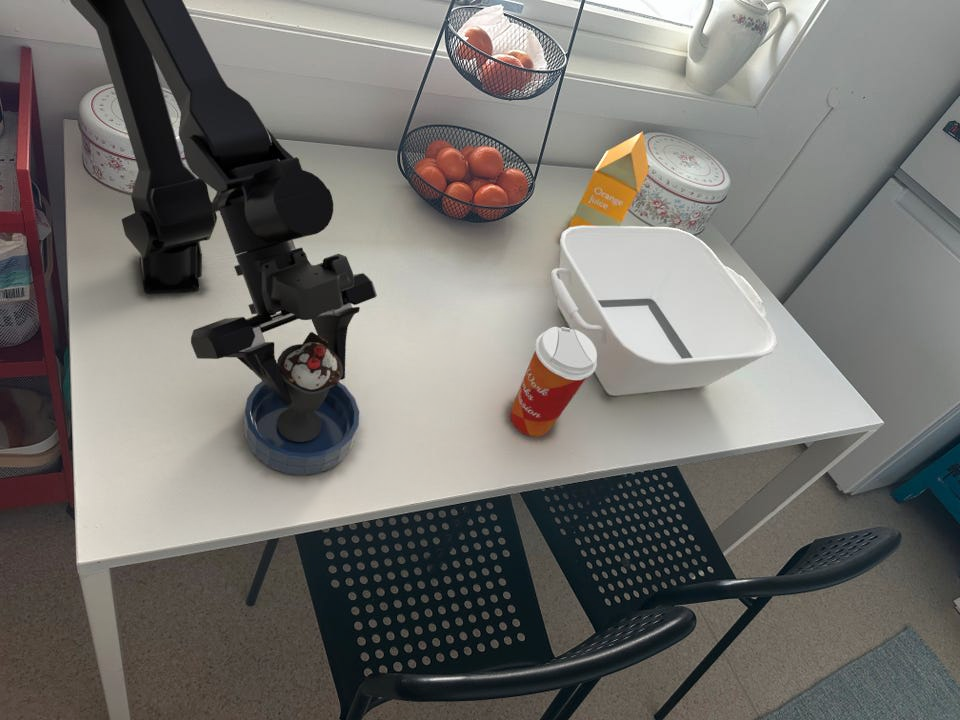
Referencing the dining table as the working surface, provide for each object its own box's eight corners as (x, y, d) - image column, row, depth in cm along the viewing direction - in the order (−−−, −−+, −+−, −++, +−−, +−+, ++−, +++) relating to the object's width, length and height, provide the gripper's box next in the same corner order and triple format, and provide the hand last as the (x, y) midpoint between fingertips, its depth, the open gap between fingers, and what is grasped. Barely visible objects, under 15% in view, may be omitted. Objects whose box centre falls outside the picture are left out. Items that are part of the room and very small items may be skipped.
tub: (673, 285, 123) (711, 227, 114) (759, 408, 107) (811, 351, 98) (498, 290, 108) (526, 223, 99) (569, 432, 93) (609, 368, 84)
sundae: (301, 460, 77) (319, 371, 67) (256, 423, 79) (267, 331, 68) (341, 426, 82) (364, 338, 71) (298, 392, 83) (314, 301, 73)
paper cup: (499, 393, 94) (534, 318, 84) (553, 399, 96) (594, 327, 86) (505, 441, 89) (544, 367, 79) (562, 447, 91) (607, 376, 81)
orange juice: (560, 242, 122) (607, 140, 108) (574, 219, 128) (621, 119, 114) (601, 263, 121) (654, 162, 107) (613, 238, 127) (665, 140, 113)
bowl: (254, 486, 75) (256, 466, 72) (235, 396, 82) (236, 375, 79) (366, 467, 80) (371, 448, 78) (339, 385, 87) (343, 364, 84)
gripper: (209, 266, 59) (273, 436, 63) (383, 213, 71) (428, 359, 74) (162, 277, 67) (221, 427, 71) (325, 227, 79) (368, 358, 83)
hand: (315, 391), depth 75 cm, fingers closed on sundae, 6 cm apart
